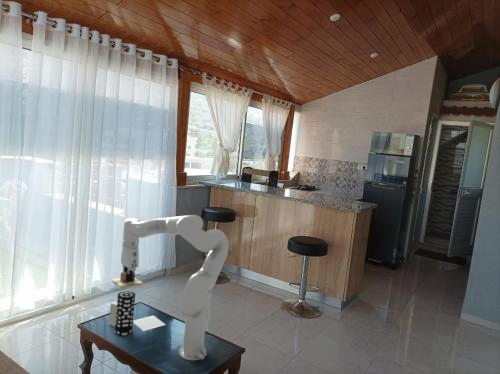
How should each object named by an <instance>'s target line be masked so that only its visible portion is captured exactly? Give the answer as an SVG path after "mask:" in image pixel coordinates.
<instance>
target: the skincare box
mask: <svg viewBox="0 0 500 374" xmlns="http://www.w3.org/2000/svg"><path fill="white" fill-rule="evenodd" d="M116 310H117V300H115V301H113V302H111V303H110V310H109V311H110V313H109V322H108V323H109V326H112V327H114V328H115V322H116Z"/></svg>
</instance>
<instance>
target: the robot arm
mask: <svg viewBox="0 0 500 374" xmlns="http://www.w3.org/2000/svg"><path fill="white" fill-rule="evenodd" d="M203 226H204V222H203V219H202V218H201V216H199V215H197V214H188V215H179V216H170V217H164V218H163V217H162V218H155V219H147V220H144V221H140V219H139V218H126V219H125V220H124V224H123V232H122V244H121V246H122V248H121V249H122V251H121V257H120V263H121V265H122V272H127V271H128V272H127V273H128V274H127V275H126V282H130V281H133V273H134V272H136V271H137V268H138V267H139V261H140V260H139V258H140V256H139V255H140V254H139V253H140V252H139V250H140V249H139V241H140V238H141V239H143V238H147V237H149V236H153V235H157V234H168V235H169V236H178V235H180V236H181V238H183V239H184V240H185V241H187V242H188V243H189V244H190V245H192V246H193V247H194V248H195V249H196V250H198V251H200V252H202V253H207V255H206V257H205V259H204V262H203V264H202V266H201V268H200V269H199V270H198V271H197V272H194V273H193V274H192V275H191V276H190V277H189V279H188V280H187V282H186V284H185V286H184V289H183V291H182V294H181V296H180V298H179V301H178V309H179V311H180V313H181V314H182V315H184V316H185V319H184V320H185V322H184V331H183V341H182V346H181V347H180V348H179V350H178V355H179V356H180V358H182V359H184V360H186V361H199V360H205V357H206V356H207V355H208V353H207V350H206V348H205V346H204V344H205V335H206V327H207V326H206V323H207V315H208V309H209V306H210V299H211V297H210V296H211V295H210V292H209V291H210V290H211V289H212V288H213V287H214V286H215V285H216V282H217V281H218V278H219V275H220V273H221V271H222V269H223V266H224V264H225V262H226V259H227V257H228V254H229V247H230V244H229V239H228V238H227V235H226V233H224V232H223V231H222V230H220V229H218V228H212V229H209V230H206V231H205V230H203V229H202V228H203Z"/></svg>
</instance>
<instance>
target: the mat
mask: <svg viewBox="0 0 500 374" xmlns="http://www.w3.org/2000/svg"><path fill="white" fill-rule="evenodd" d="M133 325H135V326H137V327H138V328H139V329H140V330H141V331H142V332H145V331H149V330H152V329H157V328H158V327H163V326H166V323H165V322H163V321H162V320H160V319H159V318H158V317H157V316H155V315H150V316H145V317H142V318H141V317H140V318H139V319H133Z"/></svg>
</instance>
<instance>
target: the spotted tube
mask: <svg viewBox="0 0 500 374" xmlns="http://www.w3.org/2000/svg"><path fill="white" fill-rule="evenodd" d="M116 299H117V300H116V301H117V310H116V322H115V327H114V335H115V336H118V337H127V336H130V335H131V334H132V333H133V326H134V323H133V321H134V317H135V316H134V314H135V305H136V304H135V302H136V293H135V292H134V291H127V290H125V291H121V292H119V293H117V298H116Z"/></svg>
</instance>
